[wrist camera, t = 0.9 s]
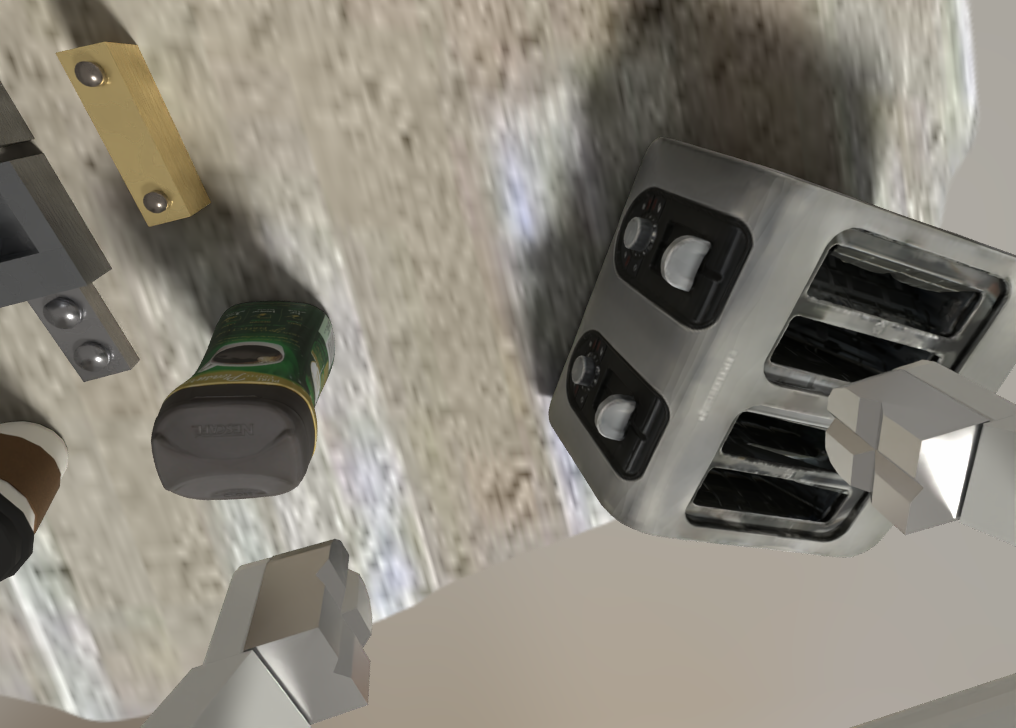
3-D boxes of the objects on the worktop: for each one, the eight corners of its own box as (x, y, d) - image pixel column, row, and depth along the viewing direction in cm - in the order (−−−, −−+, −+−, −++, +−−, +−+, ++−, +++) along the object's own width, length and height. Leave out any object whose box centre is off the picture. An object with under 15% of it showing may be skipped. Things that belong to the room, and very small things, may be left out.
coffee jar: (230, 378, 51) (151, 522, 34) (216, 297, 47) (119, 414, 31) (340, 376, 52) (314, 512, 36) (334, 297, 49) (302, 409, 33)
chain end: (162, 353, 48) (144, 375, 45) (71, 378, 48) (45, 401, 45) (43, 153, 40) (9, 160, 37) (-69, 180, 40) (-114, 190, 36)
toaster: (634, 124, 47) (763, 151, 30) (910, 226, 56) (1123, 290, 39) (526, 408, 58) (576, 542, 42) (769, 454, 67) (889, 578, 51)
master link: (95, 55, 38) (48, 52, 33) (138, 45, 38) (98, 40, 33) (173, 211, 44) (144, 229, 39) (211, 202, 44) (186, 219, 39)
